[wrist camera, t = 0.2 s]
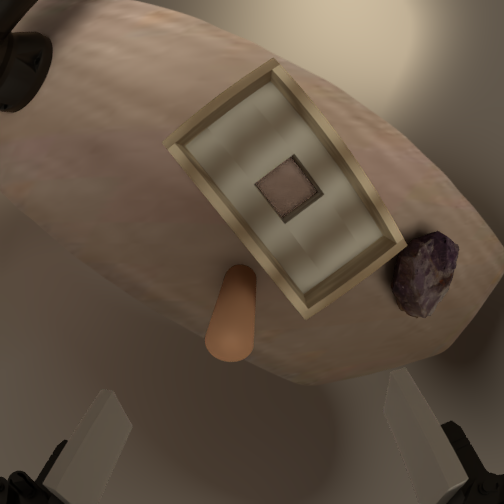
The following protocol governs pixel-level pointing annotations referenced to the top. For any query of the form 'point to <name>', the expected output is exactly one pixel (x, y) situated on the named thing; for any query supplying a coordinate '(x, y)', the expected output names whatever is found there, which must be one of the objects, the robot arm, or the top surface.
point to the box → (308, 213)
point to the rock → (424, 273)
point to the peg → (233, 316)
